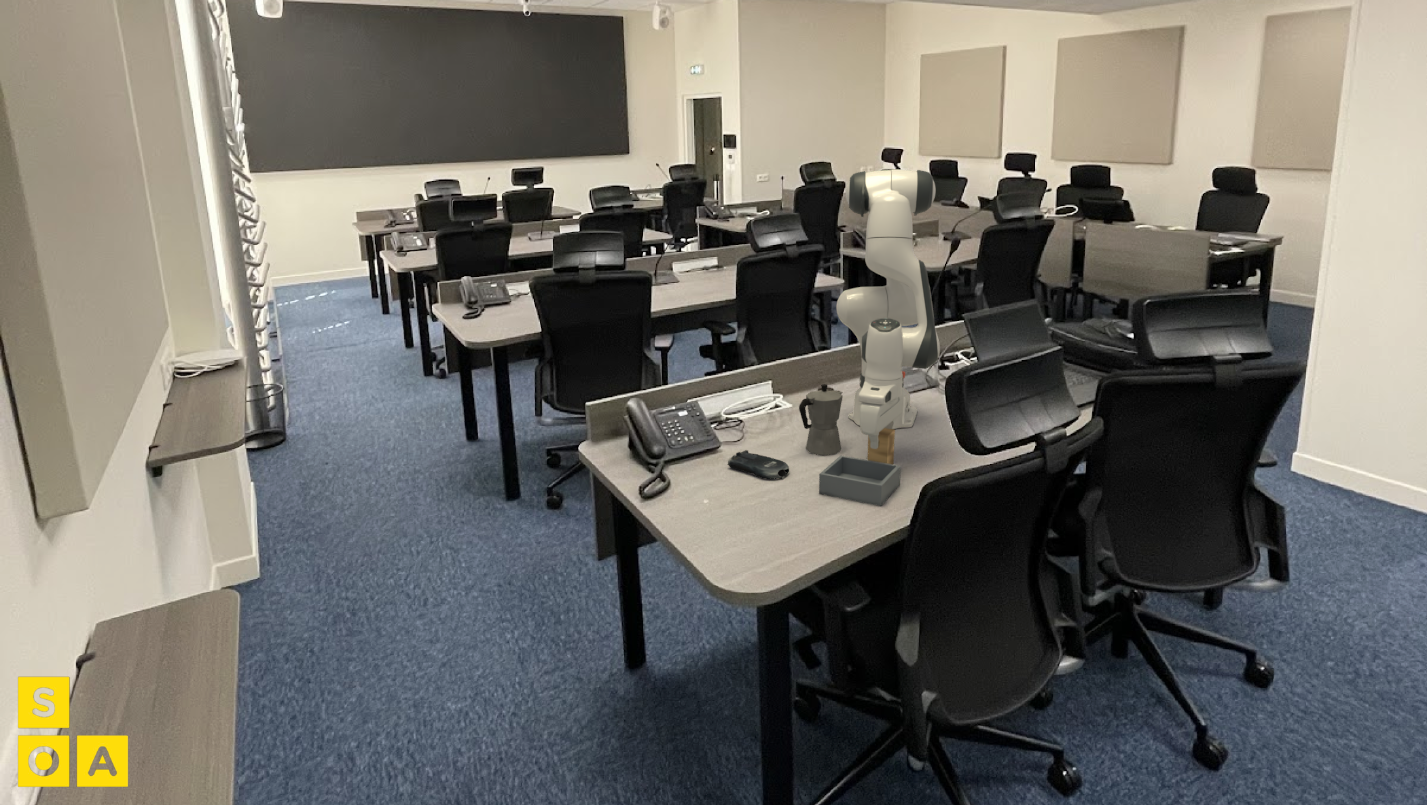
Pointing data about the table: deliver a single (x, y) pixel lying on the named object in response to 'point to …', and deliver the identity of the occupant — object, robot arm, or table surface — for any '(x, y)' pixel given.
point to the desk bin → (859, 480)
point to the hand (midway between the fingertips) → (881, 441)
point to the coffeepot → (822, 421)
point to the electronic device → (758, 465)
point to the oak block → (883, 447)
